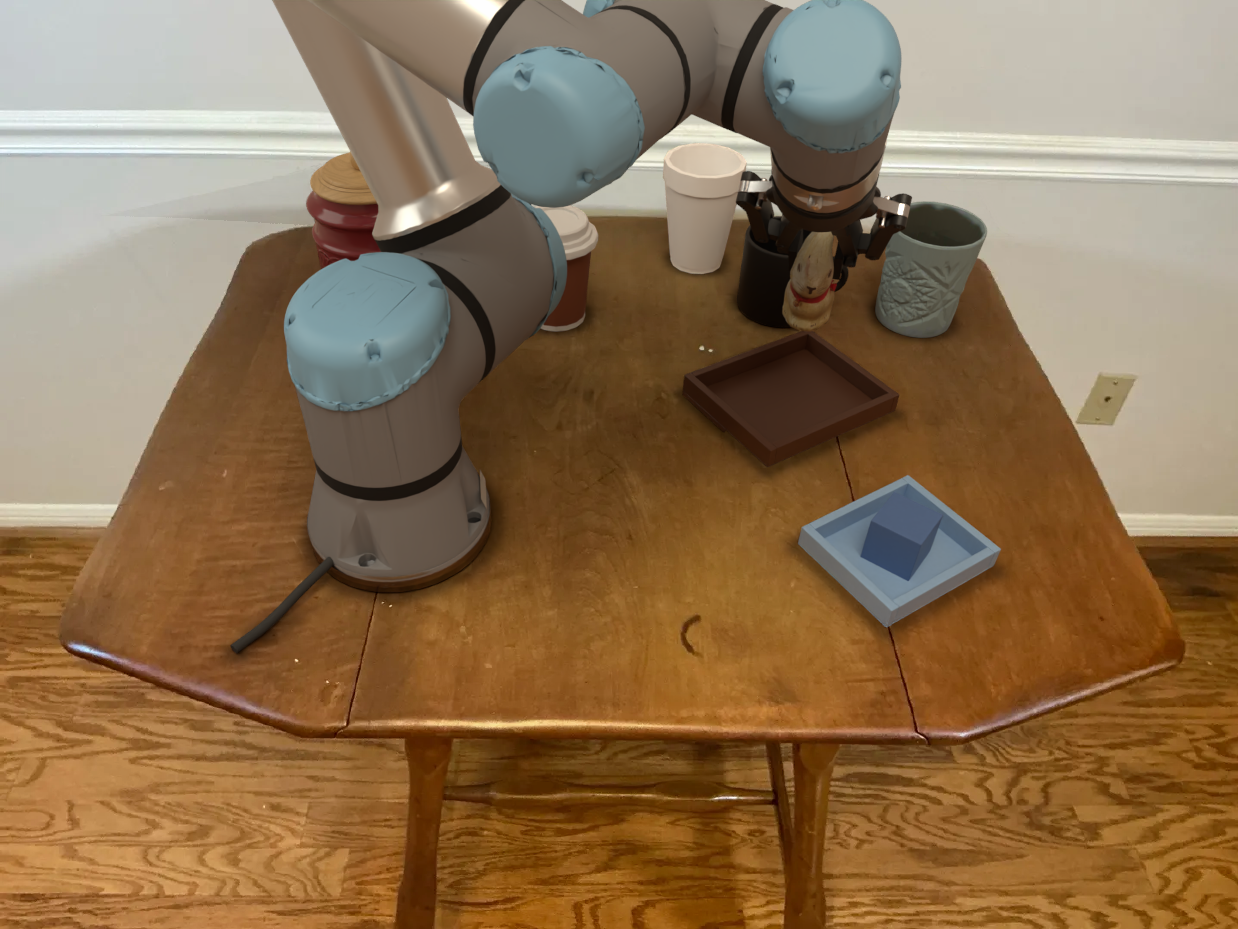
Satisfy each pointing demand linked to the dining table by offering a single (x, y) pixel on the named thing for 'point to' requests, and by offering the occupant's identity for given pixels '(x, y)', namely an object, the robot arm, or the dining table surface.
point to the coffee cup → (572, 265)
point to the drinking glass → (928, 268)
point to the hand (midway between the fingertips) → (816, 261)
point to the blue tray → (879, 590)
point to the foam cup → (700, 203)
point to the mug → (767, 280)
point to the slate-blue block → (901, 535)
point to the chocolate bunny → (811, 284)
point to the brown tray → (788, 396)
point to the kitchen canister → (342, 211)
